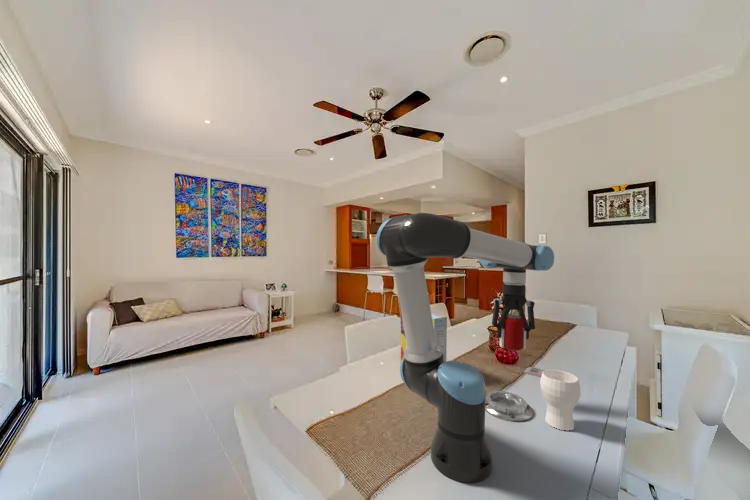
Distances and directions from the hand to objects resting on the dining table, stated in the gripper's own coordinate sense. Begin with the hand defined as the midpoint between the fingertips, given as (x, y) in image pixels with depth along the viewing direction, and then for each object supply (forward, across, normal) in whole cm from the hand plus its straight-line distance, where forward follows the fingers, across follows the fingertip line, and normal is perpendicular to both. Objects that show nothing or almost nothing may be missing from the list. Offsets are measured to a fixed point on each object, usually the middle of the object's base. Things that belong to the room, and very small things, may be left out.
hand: (512, 347), depth 106 cm
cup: (+19, -10, +13) cm, 25 cm away
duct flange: (+19, +3, +6) cm, 20 cm away
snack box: (+20, +31, -21) cm, 43 cm away
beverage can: (+1, 0, 0) cm, 1 cm away
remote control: (+19, -20, -25) cm, 37 cm away
